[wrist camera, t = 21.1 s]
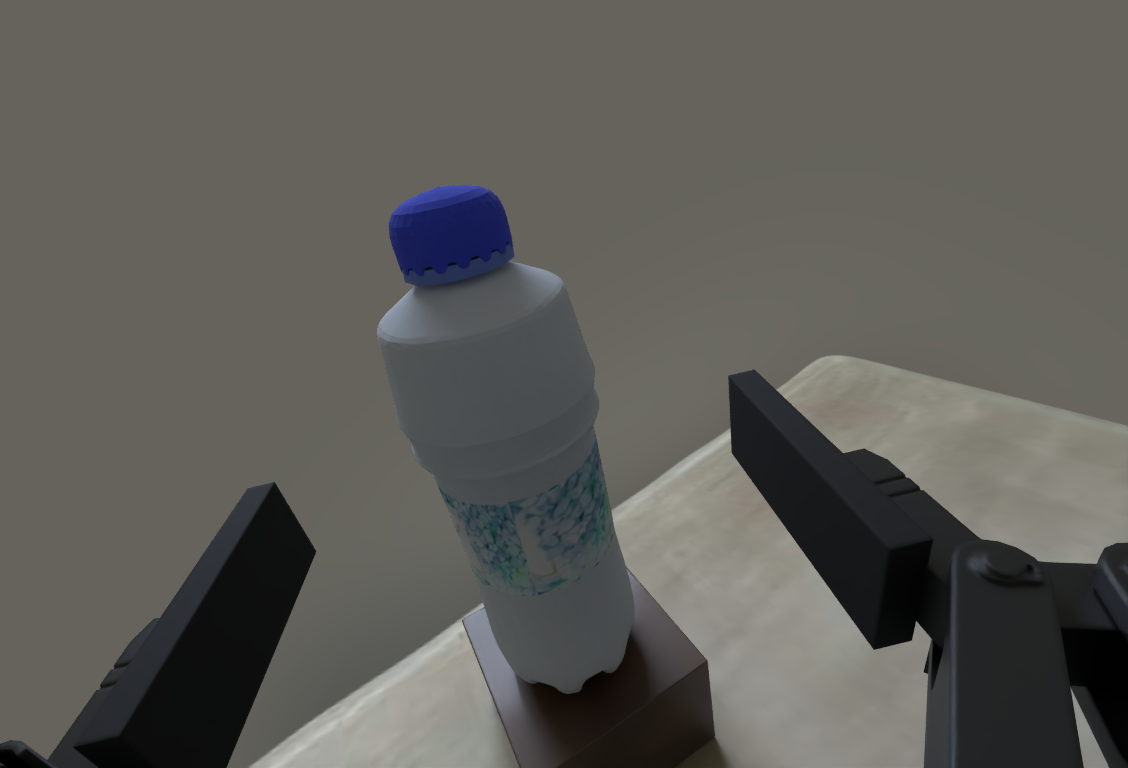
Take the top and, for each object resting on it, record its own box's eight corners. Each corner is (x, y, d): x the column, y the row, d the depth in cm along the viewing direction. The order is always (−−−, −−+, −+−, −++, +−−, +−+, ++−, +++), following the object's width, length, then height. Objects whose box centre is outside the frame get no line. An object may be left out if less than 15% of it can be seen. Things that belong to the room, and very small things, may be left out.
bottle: (507, 588, 27) (361, 195, 17) (633, 569, 26) (554, 152, 17) (494, 725, 21) (261, 239, 11) (657, 704, 20) (556, 175, 11)
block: (618, 609, 31) (603, 539, 28) (715, 736, 24) (708, 660, 21) (492, 687, 28) (461, 619, 25) (560, 856, 21) (528, 788, 18)
